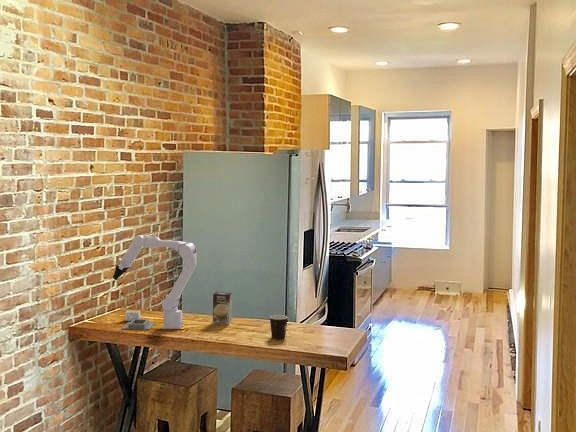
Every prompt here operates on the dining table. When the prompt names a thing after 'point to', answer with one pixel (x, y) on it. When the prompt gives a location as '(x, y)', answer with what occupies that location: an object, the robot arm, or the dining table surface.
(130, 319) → the steel block
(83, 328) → the dining table surface
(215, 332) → the dining table surface
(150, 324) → the slot holder
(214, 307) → the coffee box
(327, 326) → the dining table surface
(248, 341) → the dining table surface
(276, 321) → the coffee mug
